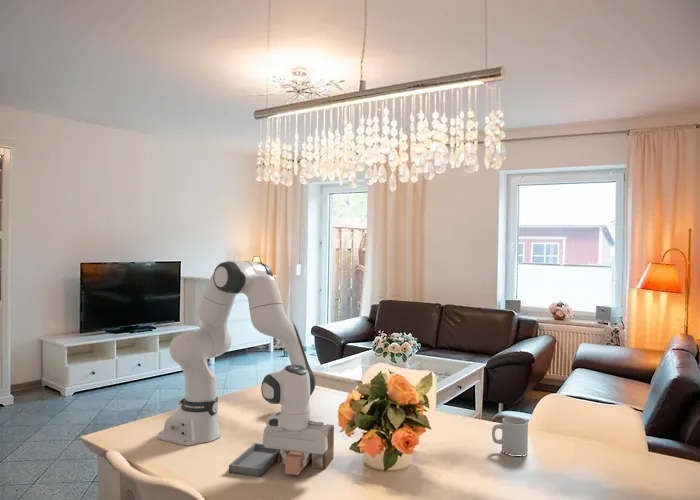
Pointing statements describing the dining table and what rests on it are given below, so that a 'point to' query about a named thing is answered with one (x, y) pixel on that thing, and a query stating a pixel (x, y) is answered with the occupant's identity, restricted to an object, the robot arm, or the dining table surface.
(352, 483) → the dining table surface
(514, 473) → the dining table surface
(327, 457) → the shelf
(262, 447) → the tray
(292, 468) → the block
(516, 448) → the mug
